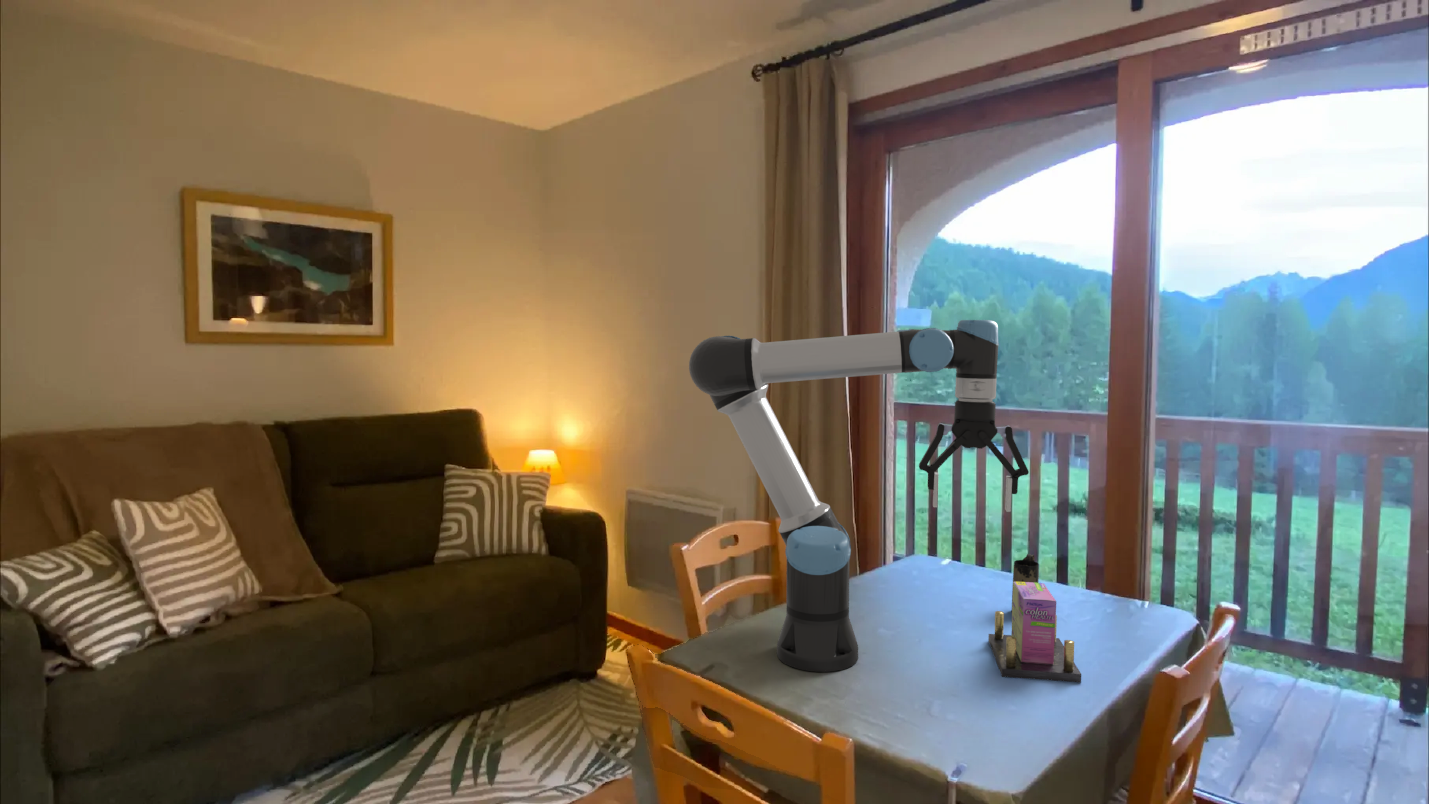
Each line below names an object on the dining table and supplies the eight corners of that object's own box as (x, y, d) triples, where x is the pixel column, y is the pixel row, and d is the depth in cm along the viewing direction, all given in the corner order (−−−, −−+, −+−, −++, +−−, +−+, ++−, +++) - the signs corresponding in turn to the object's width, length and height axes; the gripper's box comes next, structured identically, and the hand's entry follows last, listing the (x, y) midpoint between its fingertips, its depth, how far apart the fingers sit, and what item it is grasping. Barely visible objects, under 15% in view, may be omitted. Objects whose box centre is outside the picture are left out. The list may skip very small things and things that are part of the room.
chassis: (1001, 676, 140) (1002, 640, 140) (988, 641, 157) (989, 608, 157) (1081, 682, 138) (1082, 645, 137) (1058, 645, 154) (1059, 612, 154)
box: (1054, 665, 142) (1056, 599, 141) (1021, 662, 143) (1022, 598, 142) (1042, 643, 152) (1044, 582, 151) (1010, 641, 153) (1012, 580, 152)
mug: (1035, 619, 169) (1036, 563, 168) (1008, 614, 172) (1009, 559, 171) (1043, 608, 176) (1044, 555, 175) (1017, 604, 179) (1018, 551, 178)
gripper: (909, 399, 154) (905, 508, 155) (1047, 403, 148) (1042, 516, 150) (908, 396, 161) (905, 500, 163) (1040, 400, 155) (1035, 508, 157)
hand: (970, 508), depth 156 cm, fingers open, 13 cm apart
